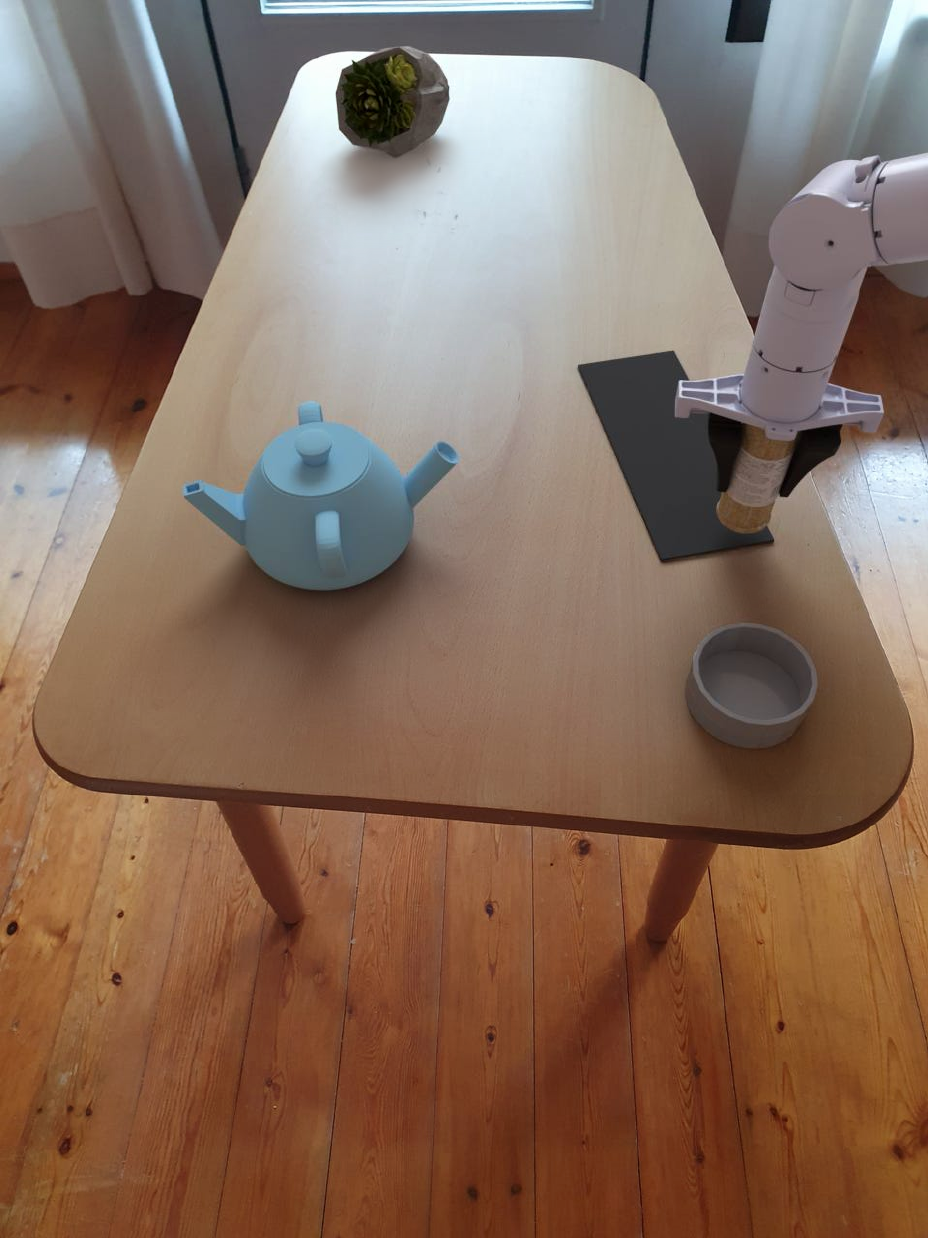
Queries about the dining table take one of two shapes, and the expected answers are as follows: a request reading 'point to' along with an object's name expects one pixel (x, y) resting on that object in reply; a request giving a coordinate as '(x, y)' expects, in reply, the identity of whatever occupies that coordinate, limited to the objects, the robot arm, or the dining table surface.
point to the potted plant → (392, 100)
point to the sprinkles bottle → (754, 480)
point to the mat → (663, 454)
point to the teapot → (323, 504)
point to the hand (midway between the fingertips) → (751, 485)
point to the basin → (750, 685)
